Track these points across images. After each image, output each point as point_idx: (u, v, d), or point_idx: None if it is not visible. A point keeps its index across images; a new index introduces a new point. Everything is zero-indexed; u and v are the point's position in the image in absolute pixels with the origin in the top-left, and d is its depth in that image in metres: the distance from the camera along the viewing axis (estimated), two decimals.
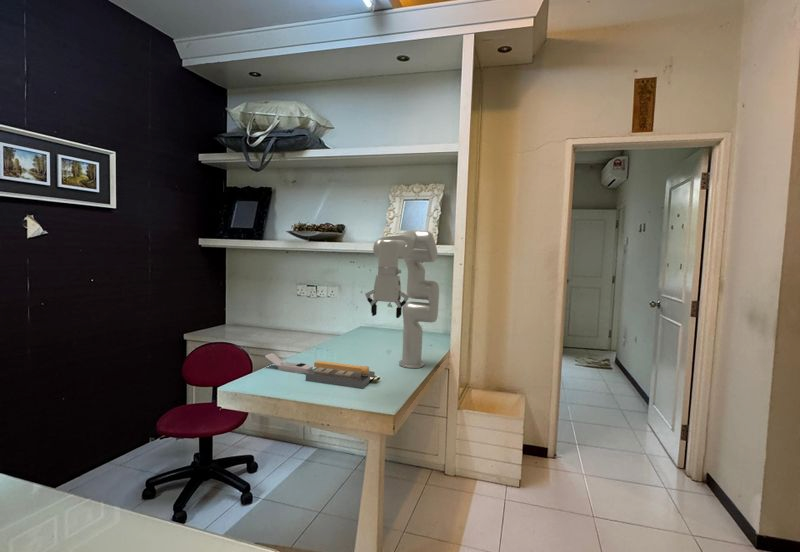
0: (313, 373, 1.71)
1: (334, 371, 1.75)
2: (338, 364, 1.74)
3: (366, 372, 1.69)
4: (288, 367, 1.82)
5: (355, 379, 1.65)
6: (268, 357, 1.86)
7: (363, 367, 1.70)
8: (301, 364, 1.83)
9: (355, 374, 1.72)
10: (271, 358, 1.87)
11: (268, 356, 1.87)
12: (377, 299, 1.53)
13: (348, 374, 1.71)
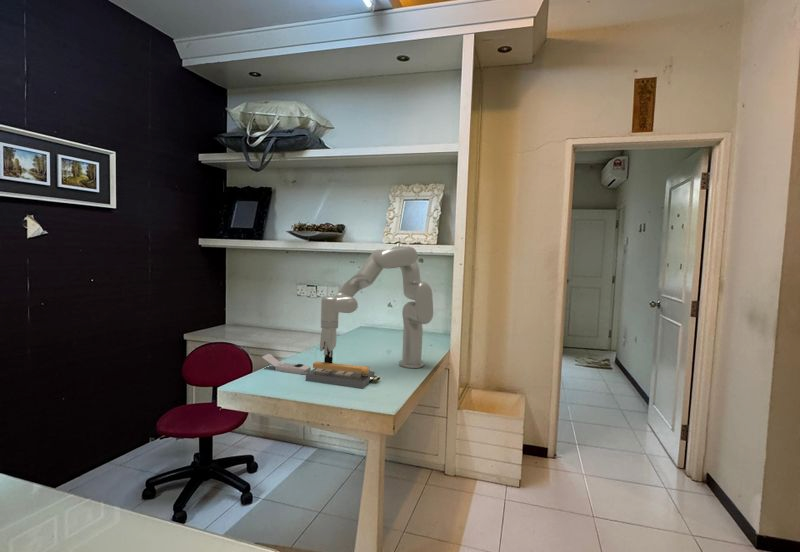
0: (313, 373, 1.71)
1: (334, 371, 1.75)
2: (337, 364, 1.73)
3: (366, 372, 1.69)
4: (286, 368, 1.80)
5: (355, 379, 1.65)
6: (265, 358, 1.85)
7: (363, 367, 1.70)
8: (299, 365, 1.82)
9: (355, 374, 1.72)
10: (268, 359, 1.85)
11: (265, 357, 1.85)
12: (331, 350, 1.74)
13: (348, 374, 1.71)
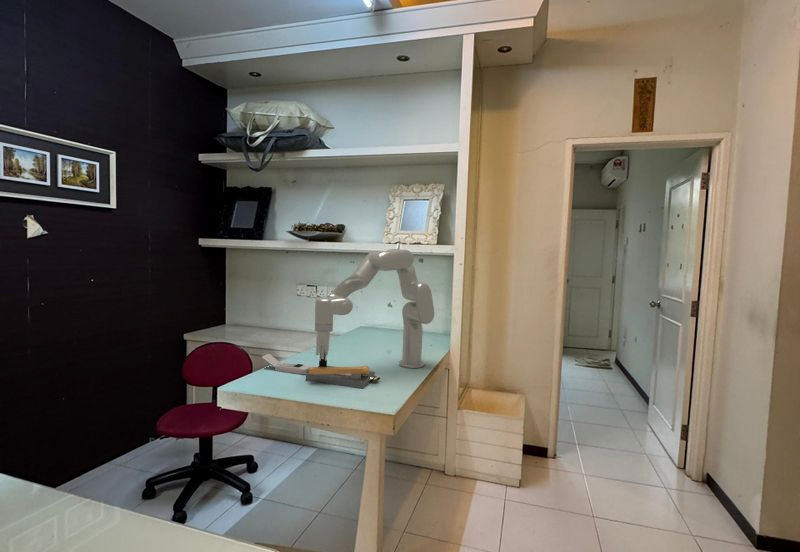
0: None
1: None
2: (335, 368, 1.68)
3: (367, 372, 1.69)
4: (285, 368, 1.80)
5: (355, 379, 1.65)
6: (265, 358, 1.85)
7: (363, 367, 1.70)
8: (298, 365, 1.82)
9: (355, 374, 1.72)
10: (268, 359, 1.85)
11: (265, 357, 1.85)
12: (327, 353, 1.68)
13: (348, 374, 1.71)
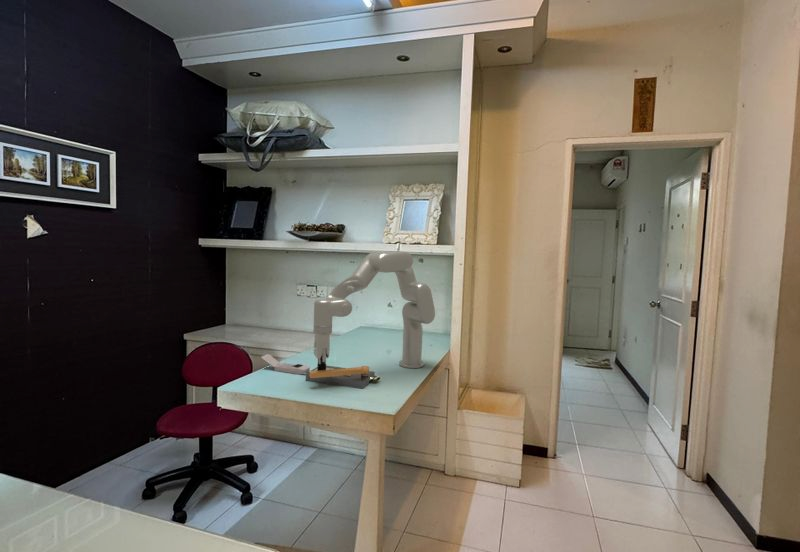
0: None
1: None
2: (336, 370, 1.65)
3: (368, 371, 1.70)
4: (285, 368, 1.80)
5: (355, 379, 1.65)
6: (264, 358, 1.84)
7: (364, 367, 1.70)
8: (298, 365, 1.82)
9: (355, 374, 1.72)
10: (267, 359, 1.85)
11: (264, 357, 1.85)
12: None
13: None
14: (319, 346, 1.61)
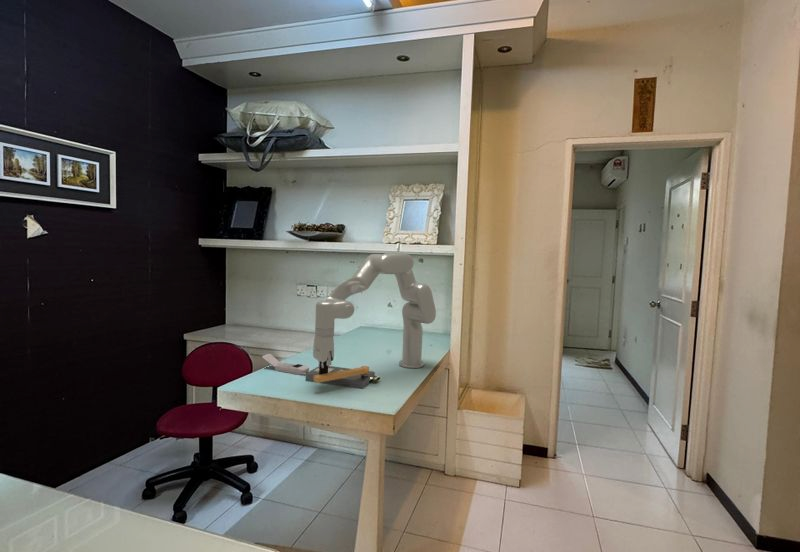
0: (313, 373, 1.71)
1: (334, 371, 1.75)
2: (339, 372, 1.63)
3: (368, 371, 1.70)
4: (285, 368, 1.80)
5: (355, 379, 1.65)
6: (265, 358, 1.85)
7: (364, 367, 1.70)
8: (298, 365, 1.82)
9: None
10: (268, 359, 1.86)
11: (265, 357, 1.86)
12: None
13: None
14: (324, 349, 1.56)
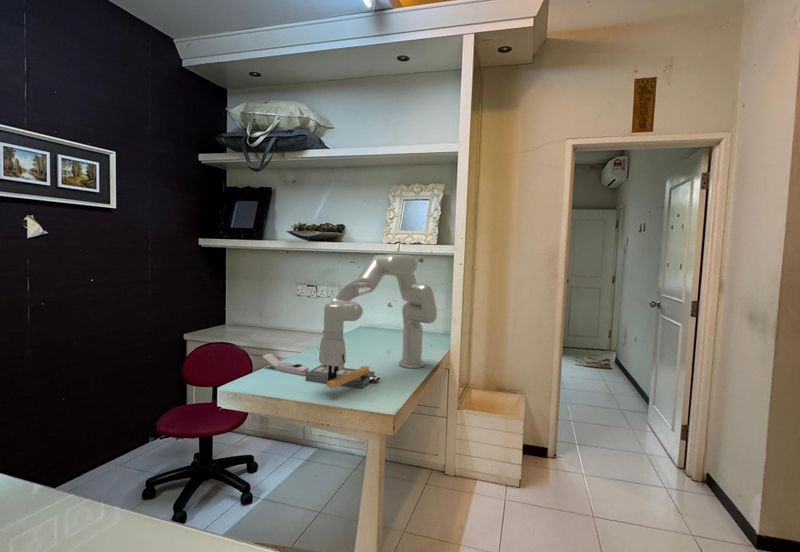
0: (313, 373, 1.71)
1: None
2: (347, 375, 1.60)
3: None
4: (284, 368, 1.80)
5: (355, 379, 1.65)
6: (266, 357, 1.86)
7: (365, 367, 1.70)
8: (297, 365, 1.82)
9: None
10: (269, 358, 1.86)
11: (266, 356, 1.87)
12: None
13: None
14: (339, 353, 1.51)
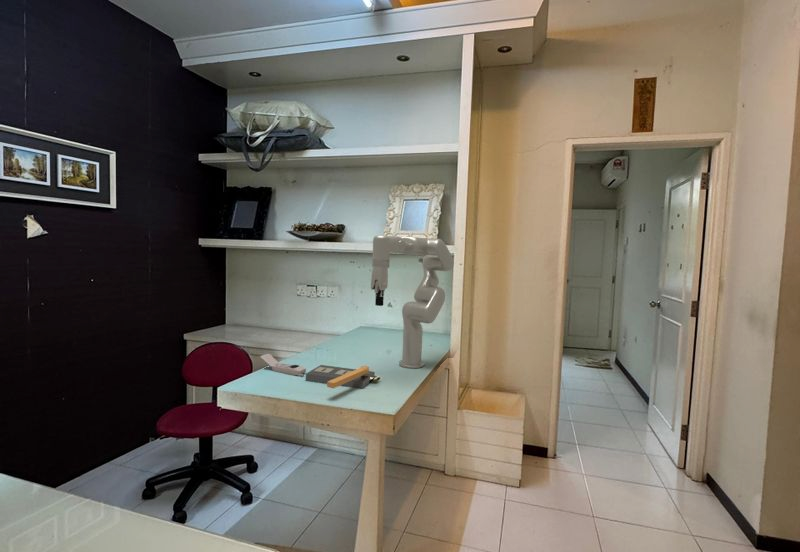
0: (313, 373, 1.71)
1: (334, 371, 1.75)
2: (347, 375, 1.60)
3: None
4: (281, 368, 1.79)
5: (355, 379, 1.65)
6: (263, 358, 1.85)
7: (365, 367, 1.70)
8: (295, 366, 1.81)
9: None
10: (266, 359, 1.85)
11: (263, 357, 1.86)
12: (382, 288, 1.74)
13: None
14: (372, 277, 1.73)
